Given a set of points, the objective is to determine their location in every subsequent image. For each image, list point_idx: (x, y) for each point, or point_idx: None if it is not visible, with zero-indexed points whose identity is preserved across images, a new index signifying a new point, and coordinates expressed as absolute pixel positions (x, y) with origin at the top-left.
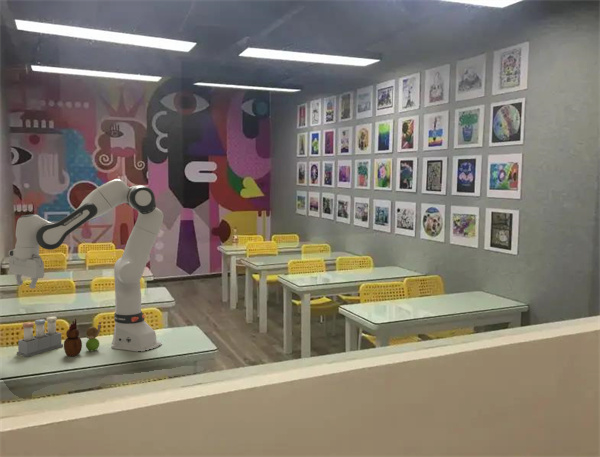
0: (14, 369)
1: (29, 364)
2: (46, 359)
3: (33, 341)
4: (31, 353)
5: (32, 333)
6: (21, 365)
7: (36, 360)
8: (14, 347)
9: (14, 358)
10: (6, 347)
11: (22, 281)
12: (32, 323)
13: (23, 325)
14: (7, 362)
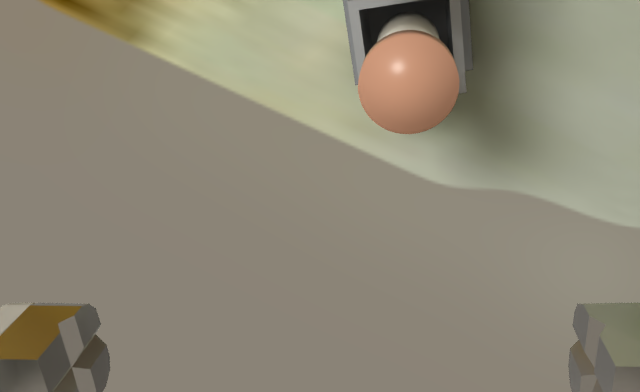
0: (617, 220)
1: (617, 129)
2: (630, 7)
3: (461, 31)
4: (467, 39)
5: (433, 35)
6: (588, 165)
7: (585, 62)
8: (193, 17)
9: None
10: (159, 51)
11: (54, 352)
12: (451, 63)
13: (409, 129)
14: (463, 186)
